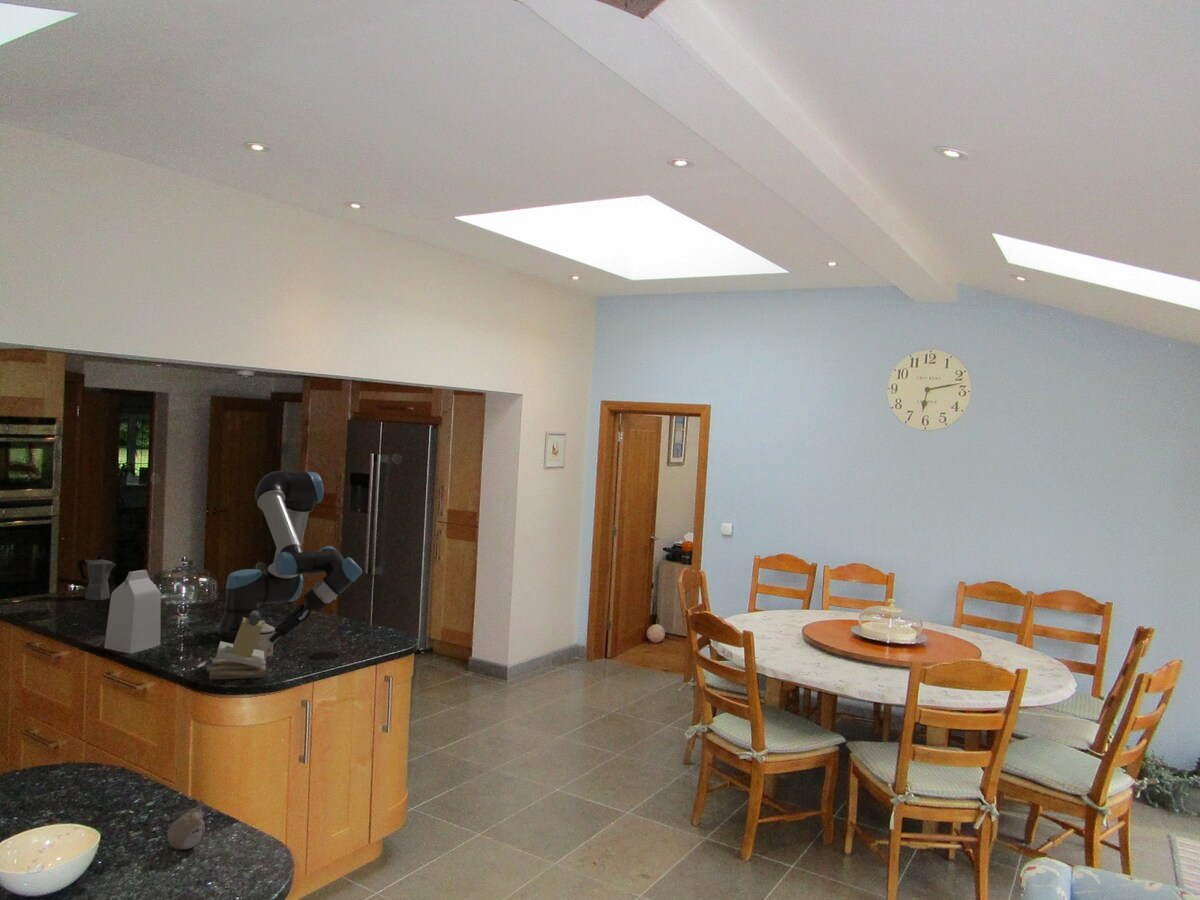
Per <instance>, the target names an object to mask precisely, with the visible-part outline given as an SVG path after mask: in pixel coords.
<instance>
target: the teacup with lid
mask: <svg viewBox="0 0 1200 900" xmlns="http://www.w3.org/2000/svg"><path fill="white" fill-rule="evenodd" d="M260 621H261V622H262V629H261V632H260V634H259V637H258V640H257V643H256V645H255V648H254V649H257V650H261V651H264V650H263V649H262V648H261V647H260V646H259V644H260V643H261V642H262V641H263V640H264V639H266V638H267V637H268V636H269V635H270V634H271V633H272V632H273V631H275V628H276V627H274V626H273V625H269V624H268V623H266V621H265V620H260ZM274 644H275V643H274ZM274 644H273V645H271V646H270V647H269V648H268V649H267V650H266V651H264V657H266V658H268V657H272V656H273V654H274Z"/></svg>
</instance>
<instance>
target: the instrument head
mask: <svg viewBox="0 0 1200 900" xmlns="http://www.w3.org/2000/svg"><path fill="white" fill-rule="evenodd" d="M259 617H260V613H259V610H258V611H256V610H254V611H252V612H251V613H250V619H249V618H245V617H243V620H242V623H241V625H240V628H239V631H238V634H237V636H236V638H234V639H235V640H234V641H233V643H232V642H231V643H229V642H225V641H222V640H221V641H220V642H219V644H218V648H217V652H216V656H215V658H220V659H224V660H229V661H233V662H238V663H242V664H247V665H252V666H256V667H261V668H262V667H263V665H264V651H261V650H257V649H254V648H255V645H256V643H257V640H258V637H259V634H260V632H261V629H262V622H261V621H262V620H260V621H259Z"/></svg>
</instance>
